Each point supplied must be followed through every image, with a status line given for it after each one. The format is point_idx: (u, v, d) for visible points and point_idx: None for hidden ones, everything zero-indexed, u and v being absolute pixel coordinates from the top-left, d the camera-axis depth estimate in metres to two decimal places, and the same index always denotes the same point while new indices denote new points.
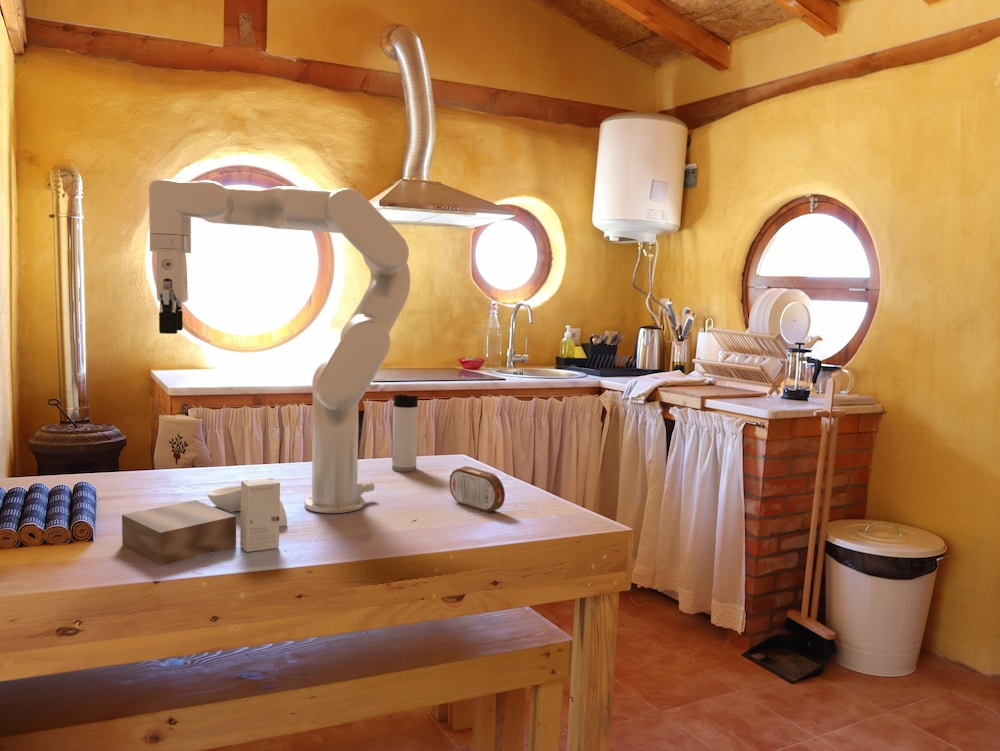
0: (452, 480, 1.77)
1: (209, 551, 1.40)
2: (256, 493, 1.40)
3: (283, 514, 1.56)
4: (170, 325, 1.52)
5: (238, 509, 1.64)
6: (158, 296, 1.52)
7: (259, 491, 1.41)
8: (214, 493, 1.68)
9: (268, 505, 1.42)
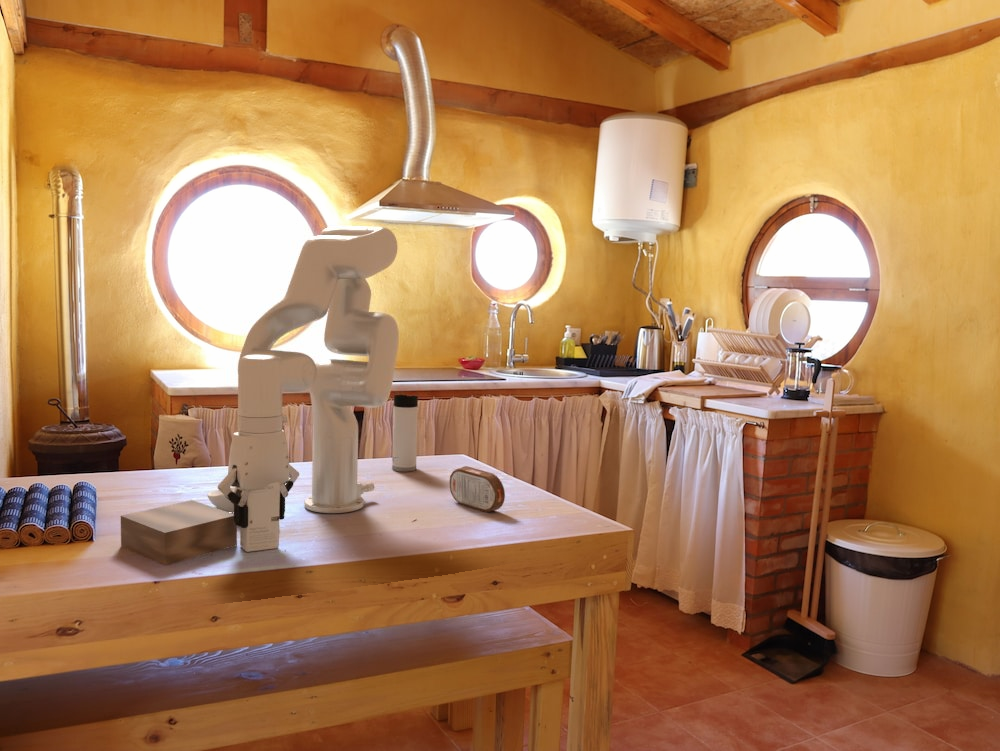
0: (452, 480, 1.77)
1: (211, 551, 1.40)
2: (256, 493, 1.40)
3: None
4: None
5: None
6: (288, 477, 1.45)
7: (258, 491, 1.41)
8: (215, 493, 1.68)
9: (268, 505, 1.42)
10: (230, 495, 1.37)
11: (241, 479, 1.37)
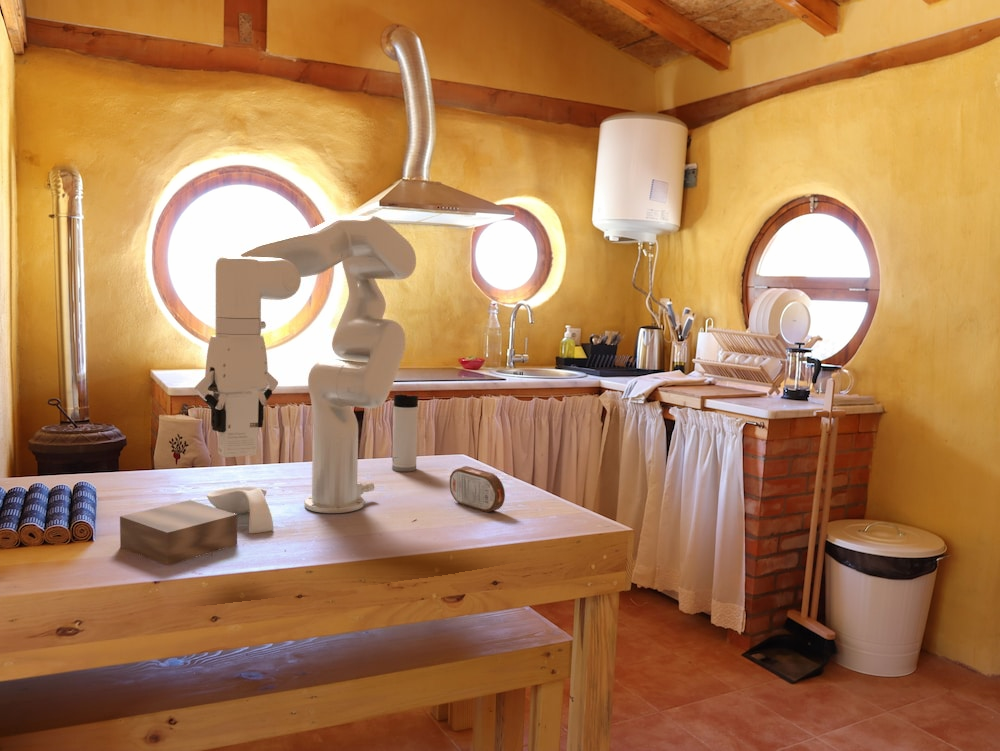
0: (452, 480, 1.77)
1: (212, 550, 1.40)
2: (234, 398, 1.38)
3: (269, 519, 1.53)
4: None
5: (234, 511, 1.62)
6: (266, 384, 1.43)
7: (237, 395, 1.38)
8: (216, 494, 1.68)
9: (246, 410, 1.39)
10: (207, 397, 1.35)
11: (219, 381, 1.35)
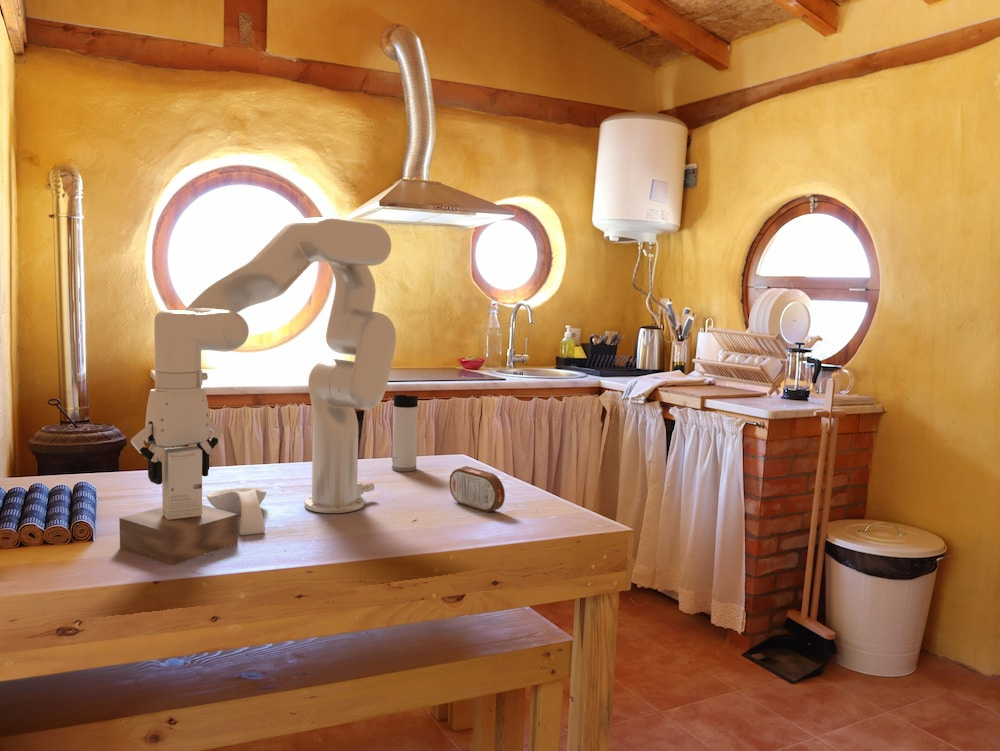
0: (452, 480, 1.77)
1: (214, 550, 1.41)
2: (177, 461, 1.39)
3: (260, 520, 1.51)
4: None
5: (232, 512, 1.62)
6: None
7: (180, 458, 1.39)
8: (217, 494, 1.67)
9: (190, 472, 1.40)
10: (142, 450, 1.35)
11: (157, 436, 1.36)
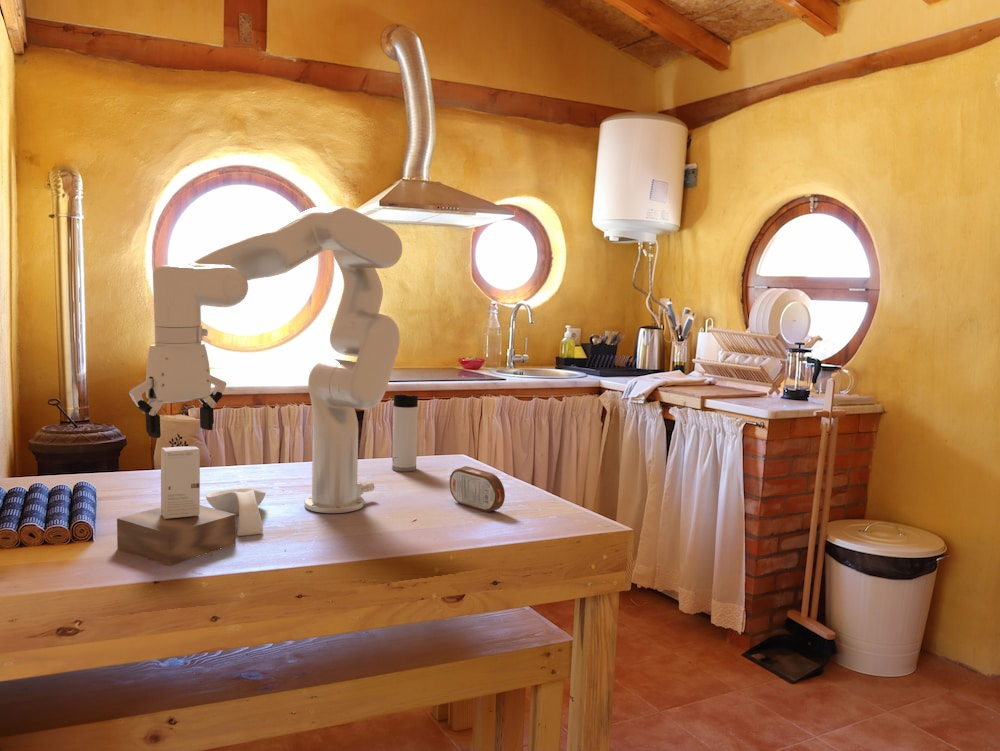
0: (452, 480, 1.77)
1: (212, 550, 1.40)
2: (174, 459, 1.39)
3: (258, 521, 1.51)
4: None
5: (231, 512, 1.61)
6: (210, 391, 1.42)
7: (177, 457, 1.40)
8: (216, 494, 1.67)
9: (187, 471, 1.41)
10: (140, 403, 1.34)
11: (158, 391, 1.35)
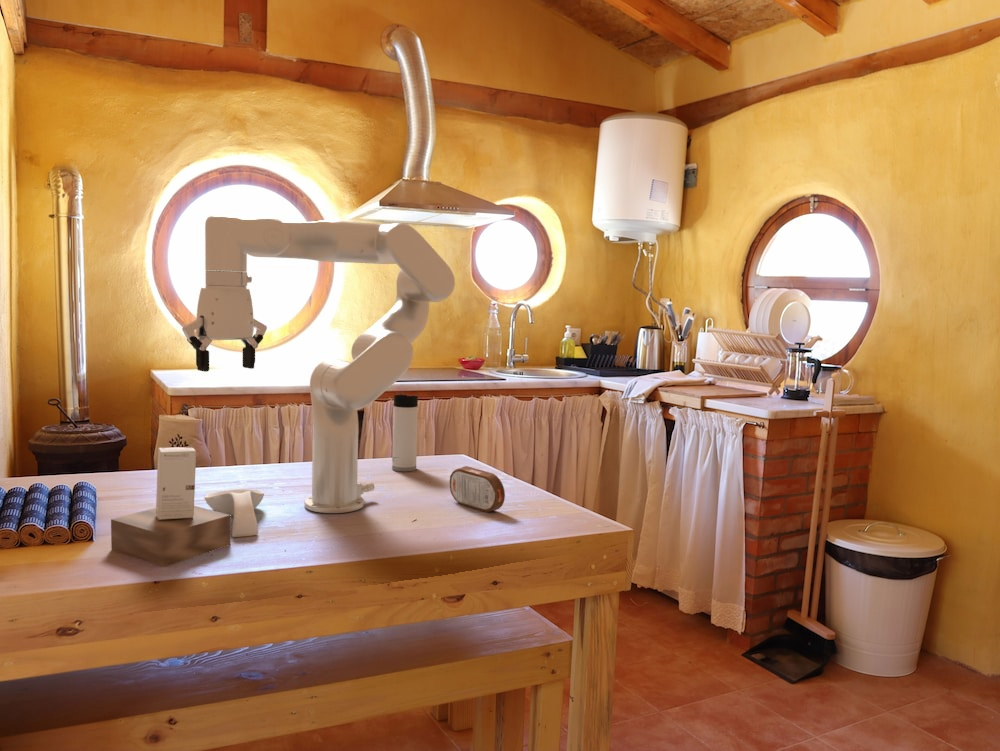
0: (452, 480, 1.77)
1: (206, 551, 1.40)
2: (170, 460, 1.38)
3: (253, 523, 1.50)
4: None
5: (228, 513, 1.61)
6: (252, 333, 1.57)
7: (173, 458, 1.39)
8: (215, 495, 1.67)
9: (182, 473, 1.39)
10: (192, 338, 1.48)
11: (208, 328, 1.49)
